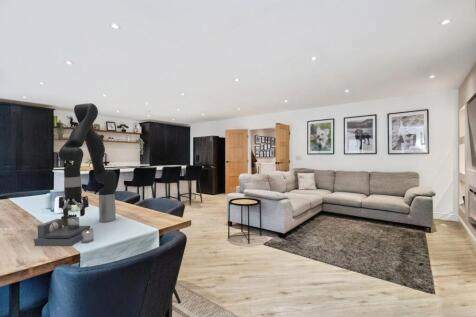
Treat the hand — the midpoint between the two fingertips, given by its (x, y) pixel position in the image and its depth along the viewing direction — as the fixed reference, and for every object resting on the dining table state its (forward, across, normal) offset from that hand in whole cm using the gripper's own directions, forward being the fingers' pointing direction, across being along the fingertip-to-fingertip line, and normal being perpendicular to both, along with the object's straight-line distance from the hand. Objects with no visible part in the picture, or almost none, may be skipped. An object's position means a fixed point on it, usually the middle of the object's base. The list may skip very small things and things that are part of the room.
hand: (74, 215), depth 126 cm
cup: (+11, -12, +12) cm, 20 cm away
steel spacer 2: (+11, +11, -6) cm, 17 cm away
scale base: (+11, -2, -4) cm, 12 cm away
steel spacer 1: (+6, 0, 0) cm, 6 cm away
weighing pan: (+7, -1, -4) cm, 9 cm away
